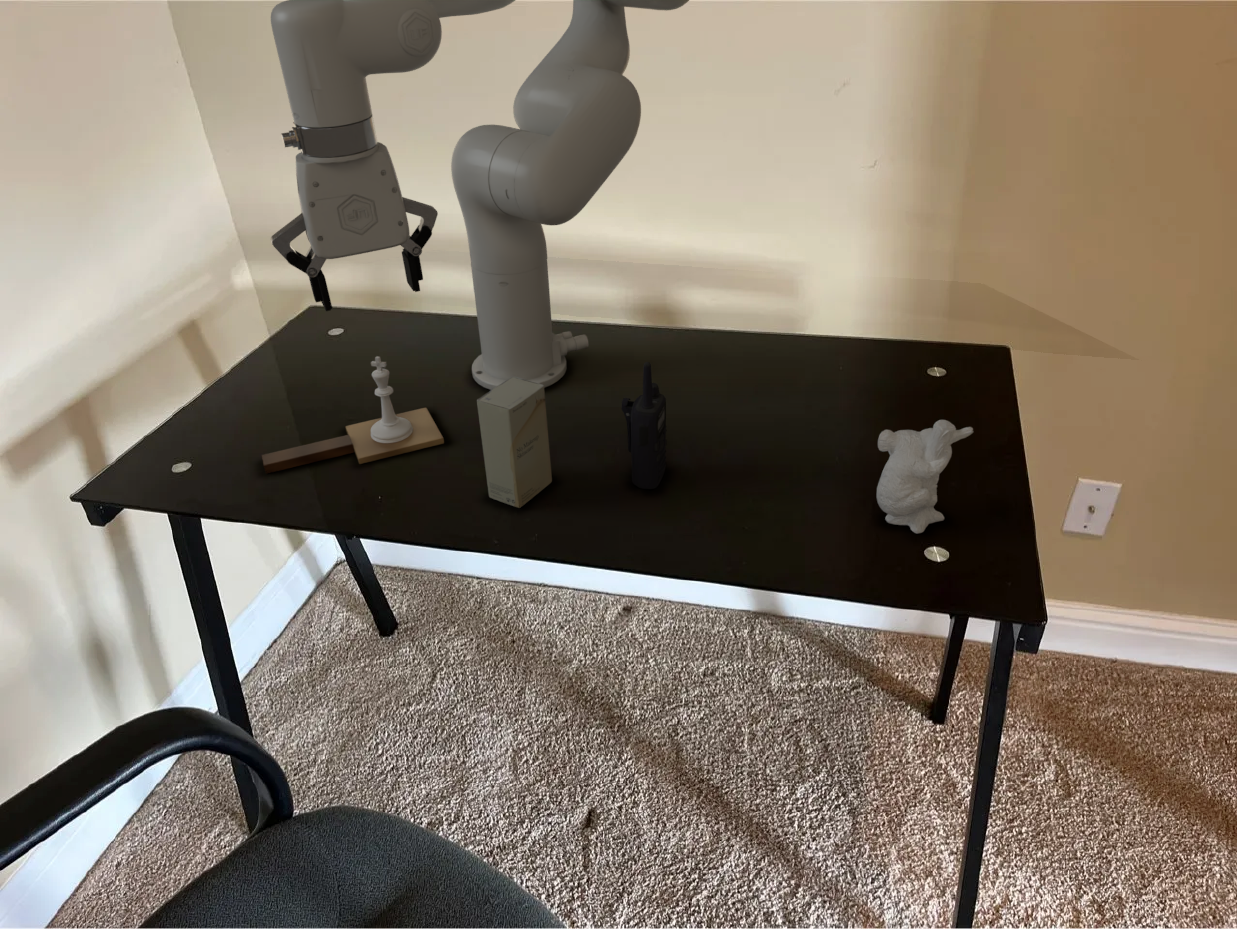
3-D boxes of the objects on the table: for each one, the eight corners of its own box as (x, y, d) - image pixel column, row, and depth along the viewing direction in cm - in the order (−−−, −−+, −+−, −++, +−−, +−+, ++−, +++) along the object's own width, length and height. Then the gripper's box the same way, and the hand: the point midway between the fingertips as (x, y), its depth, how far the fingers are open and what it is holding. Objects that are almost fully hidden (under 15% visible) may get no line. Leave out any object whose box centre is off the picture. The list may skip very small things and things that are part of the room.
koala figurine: (955, 510, 95) (977, 410, 89) (948, 548, 90) (971, 446, 84) (872, 494, 98) (887, 396, 91) (861, 530, 93) (877, 429, 86)
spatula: (427, 412, 115) (425, 404, 114) (444, 443, 109) (443, 434, 108) (260, 451, 108) (258, 443, 108) (269, 487, 102) (266, 478, 101)
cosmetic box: (519, 510, 97) (509, 411, 90) (486, 498, 99) (474, 400, 93) (554, 480, 102) (546, 384, 95) (521, 469, 104) (512, 374, 97)
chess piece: (402, 445, 107) (388, 369, 101) (363, 441, 108) (347, 365, 102) (419, 423, 111) (406, 349, 105) (381, 420, 112) (366, 346, 106)
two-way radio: (656, 495, 99) (656, 371, 91) (617, 488, 100) (613, 366, 92) (669, 467, 103) (670, 346, 95) (631, 461, 104) (629, 342, 96)
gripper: (251, 161, 86) (296, 327, 95) (432, 132, 91) (456, 292, 101) (242, 142, 91) (285, 300, 101) (413, 116, 97) (438, 268, 107)
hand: (371, 296), depth 101 cm, fingers open, 9 cm apart
